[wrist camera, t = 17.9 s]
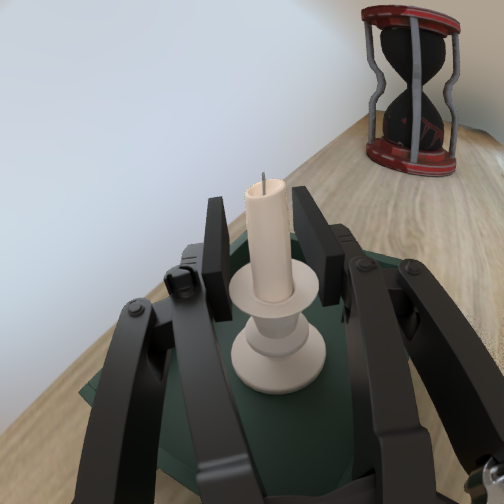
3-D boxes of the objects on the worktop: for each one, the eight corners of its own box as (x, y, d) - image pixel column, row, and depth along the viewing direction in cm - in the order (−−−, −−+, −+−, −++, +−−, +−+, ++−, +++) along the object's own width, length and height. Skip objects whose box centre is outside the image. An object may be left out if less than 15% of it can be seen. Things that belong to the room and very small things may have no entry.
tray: (316, 547, 7) (323, 553, 6) (102, 414, 14) (77, 392, 12) (416, 295, 19) (425, 265, 17) (255, 252, 25) (252, 223, 24)
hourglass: (371, 141, 51) (366, 19, 37) (448, 155, 44) (451, 30, 30) (359, 166, 40) (353, 1, 26) (462, 185, 33) (469, 16, 19)
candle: (230, 397, 14) (170, 216, 8) (234, 323, 18) (200, 157, 12) (331, 390, 13) (363, 199, 7) (318, 316, 18) (323, 146, 12)
